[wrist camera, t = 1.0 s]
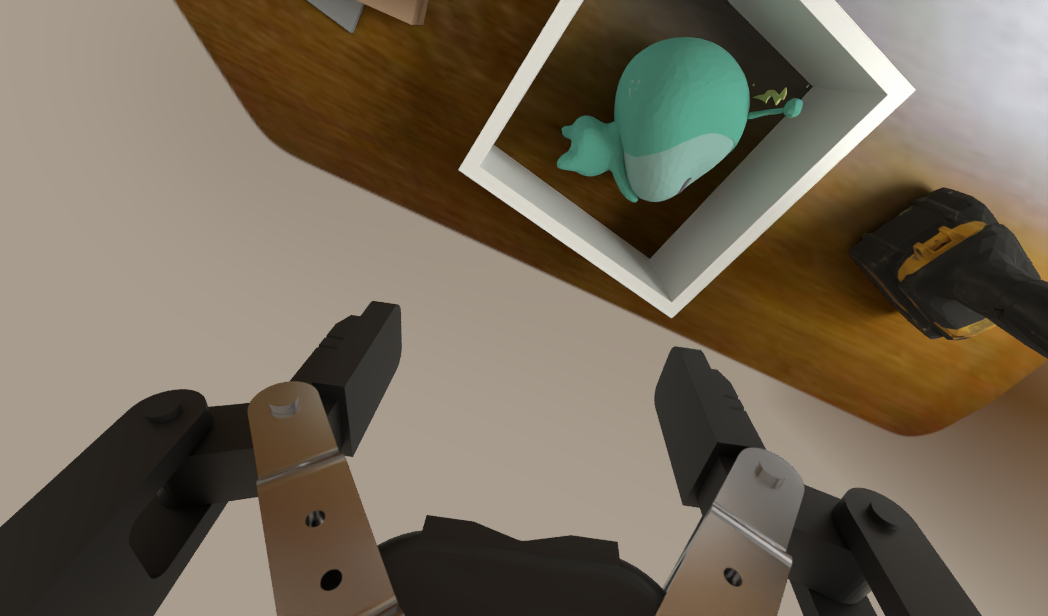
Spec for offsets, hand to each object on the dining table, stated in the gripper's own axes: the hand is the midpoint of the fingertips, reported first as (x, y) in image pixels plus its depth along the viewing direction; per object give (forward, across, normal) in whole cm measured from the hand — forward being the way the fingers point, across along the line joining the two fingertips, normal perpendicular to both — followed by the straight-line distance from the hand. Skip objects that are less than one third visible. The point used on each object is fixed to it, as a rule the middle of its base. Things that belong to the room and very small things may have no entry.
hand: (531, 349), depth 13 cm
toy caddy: (+26, -7, -4) cm, 27 cm away
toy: (+26, -7, -4) cm, 28 cm away
